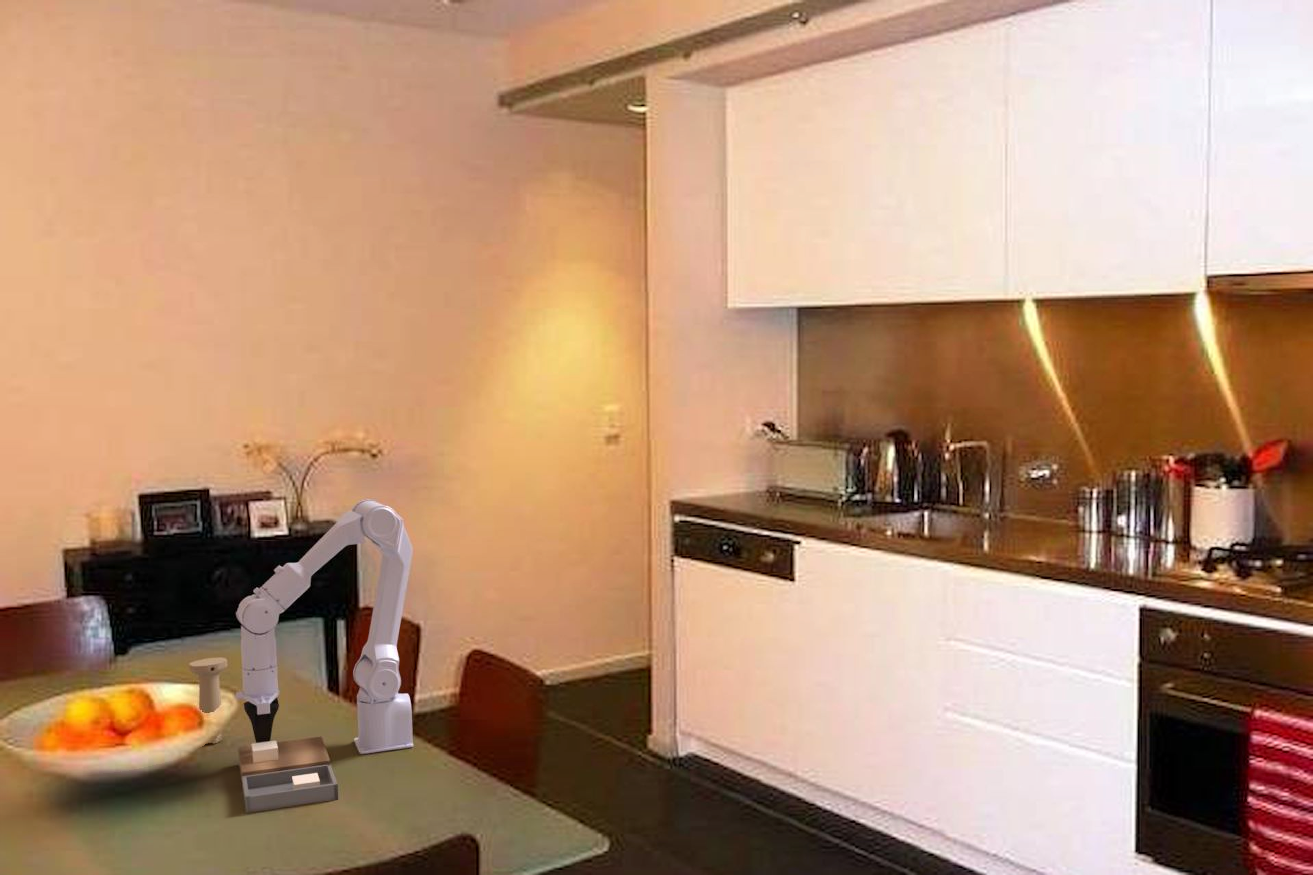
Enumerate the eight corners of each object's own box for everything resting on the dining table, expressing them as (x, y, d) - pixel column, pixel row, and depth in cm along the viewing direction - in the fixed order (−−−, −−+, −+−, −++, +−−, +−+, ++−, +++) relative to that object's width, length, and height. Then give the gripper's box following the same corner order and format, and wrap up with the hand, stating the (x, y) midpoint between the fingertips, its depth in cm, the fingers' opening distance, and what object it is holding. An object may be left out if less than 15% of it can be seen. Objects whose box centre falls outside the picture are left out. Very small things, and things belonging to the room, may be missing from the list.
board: (322, 752, 217) (321, 736, 217) (330, 777, 205) (330, 760, 205) (238, 764, 212) (238, 747, 212) (242, 790, 200) (241, 772, 200)
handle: (234, 741, 224) (230, 661, 222) (198, 749, 220) (194, 667, 218) (225, 734, 228) (221, 655, 226) (190, 742, 224) (186, 662, 222)
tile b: (276, 751, 209) (276, 740, 209) (278, 759, 206) (277, 747, 206) (252, 754, 208) (251, 743, 208) (253, 762, 204) (252, 751, 204)
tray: (331, 778, 205) (330, 763, 205) (338, 799, 196) (337, 784, 196) (242, 790, 200) (242, 776, 200) (246, 812, 191) (245, 797, 191)
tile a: (319, 780, 197) (320, 793, 197) (317, 772, 201) (317, 784, 201) (294, 784, 196) (294, 796, 196) (291, 776, 199) (292, 788, 199)
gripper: (233, 657, 215) (236, 733, 216) (236, 679, 202) (240, 759, 203) (275, 653, 218) (278, 727, 219) (281, 674, 204) (284, 753, 205)
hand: (263, 742), depth 211 cm, fingers closed
